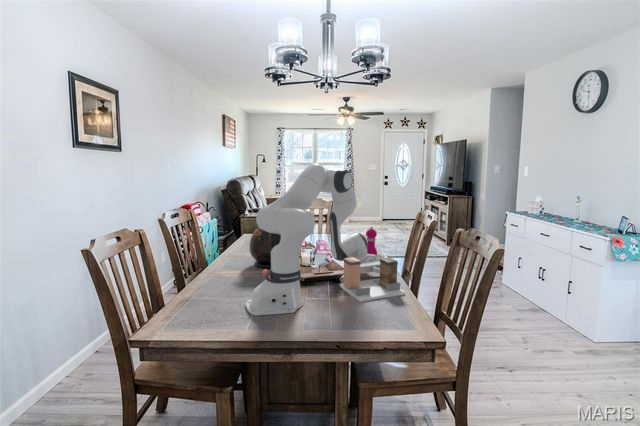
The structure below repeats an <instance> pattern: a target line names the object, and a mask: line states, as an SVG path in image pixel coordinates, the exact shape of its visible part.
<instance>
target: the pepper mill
mask: <svg viewBox="0 0 640 426" xmlns="http://www.w3.org/2000/svg"><path fill="white" fill-rule="evenodd" d="M377 234H378V233H377V231H376V229H374V227H373V226H370V227H369V229H367V230H366V232H365V236H366V240H367V243H368V252H367V253H369V254H373V255H378V250H377V248H376V245H375V243H376V240H377V239H376V237H377Z"/></svg>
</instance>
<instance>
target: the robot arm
mask: <svg viewBox="0 0 640 426" xmlns="http://www.w3.org/2000/svg"><path fill="white" fill-rule="evenodd" d="M320 193H325V194H326V193H327V194H330V195H331V199H332V209H331V212H330V213H329V215H328V216H329V220H328V222H329V232H330V233H329V235H330V253H331V255H332V257H333V259H334V260H336V261H338V262H339V261H340V262H344V258H353V257H354V258H356V259H358V260H360V262H361V264H360V275H361V274H370V273H378V274H380V259H382V258H385V256H384V255H382V254H377V255H373V254H369V253H367V252H368V241H367V237H365V236H364V235H363V234H362V233H360V232H357V231H356V232H354V233H352V234H349V235H347V236H345V237H343V238H342V237H341V228H342V225H343V223H344V222H345V221H346V220H347V219H348V218H349V217H350V216H351V215H352V214H353V213H354V212H355V210H356V209H357V204H358V203H357V198H356V197H357V196H356V194H355V190H354V186H353V177H352V174H351V172H350V171H349V170H348V169H344V168H333V167H332V168H331V167H324V166H323V165H320V164H319V163H311V164H309V165H308V166H307V167H306V168H304V170H303V171H302V172H301V173H300V174H299V175H298V176H297V178H296V179H295V181H294V182H293V183H292V185H291V186H290V187H289V189H288V190H287V191H286V192H285V193H284V194H282V195H281V196H280V197H279V198H277V199H276V200H274V201H273V202H271V203H269V204H267V205H265V206H262V207H261V208H259V210H258V211H257V214H256V217H255V219H256V222H255V223H256V225H257V228H258V227H259V228H260V229H262V230H264V231H266V232H269V233H274V234H280V235H281V240H280V243H279V244H278V245H276V246H275V247H274V248H273V249H272V251H271V269H263V271H262V273H263V275H264V276H265V279H264V280H263V281H262V282H261V283H260V284H258V285H257V286H256V287H254V289H253V291H252V294H251V299H248V300H246V303H245V308H246V310H247V312H248V313H249V314H250V315H252V316H257V317H258V316H269V315H280V314H281V315H282V314H283V315H285V314H293V313H296V311H297V310H298V309H300V308H302V306H303V305H304V300H303V296H302V291H301V280H302V279H301V278H302V273H301V268H300V253H301V249H302V245H303V243H304V241H305V239H307V237H309V236H311V234H312V233H313V232H314V229H315V226H316V219H315V217H314V214H313V213H312V212H311V211H309V210H308V209H310V208H311V206H313V204H314V203H315V201H316V199H317V197H318V196H319V195H320Z"/></svg>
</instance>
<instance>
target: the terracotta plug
mask: <svg viewBox="0 0 640 426" xmlns="http://www.w3.org/2000/svg"><path fill="white" fill-rule="evenodd" d="M360 264H361V262H360V260H358V259H356V258H354V257H353V258H344V261H343V283H344V285H345V286H346V287H348V288H349V289H352V288H359V287H360V281H361V274H360Z"/></svg>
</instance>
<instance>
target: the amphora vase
mask: <svg viewBox="0 0 640 426" xmlns="http://www.w3.org/2000/svg"><path fill="white" fill-rule="evenodd" d="M280 240H281V235H280V234H274V233H269V232H266V231H264V230H262V229H260V228H259V227H258V226H257V228H256V229H255V230H254V231H253V233H252V234H251V236H250V240H249V244H248V247H249V253H250V255H251V257H252V258H253V259H254V260H255V261H254V266H255V267H256V268H258V269H261V270H262V269H263V270H265V269H266V270H270V269H271V251H272V249H273V248H274V247H275V246H276V245H278V244H279V243H280Z"/></svg>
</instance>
